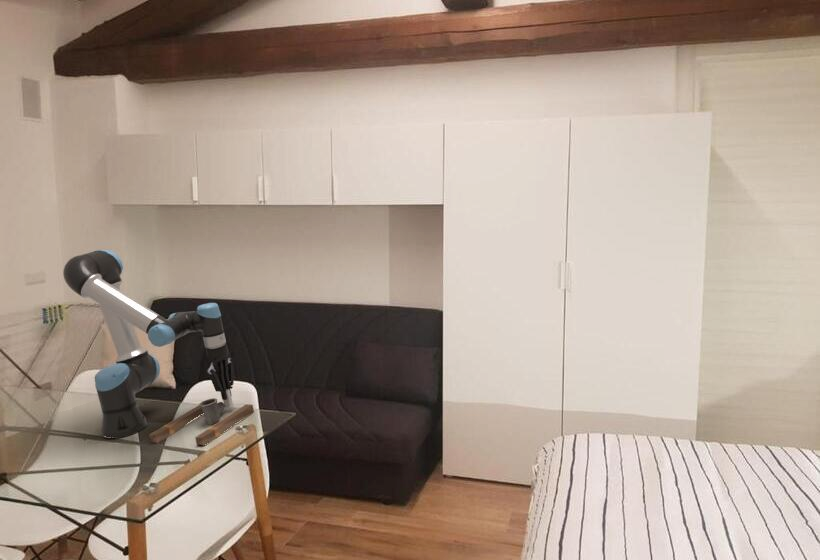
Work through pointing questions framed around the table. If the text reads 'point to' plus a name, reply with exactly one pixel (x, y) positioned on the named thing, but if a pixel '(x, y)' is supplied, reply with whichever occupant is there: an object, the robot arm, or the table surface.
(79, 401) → the table surface
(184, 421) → the guide rails
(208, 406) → the pipe
